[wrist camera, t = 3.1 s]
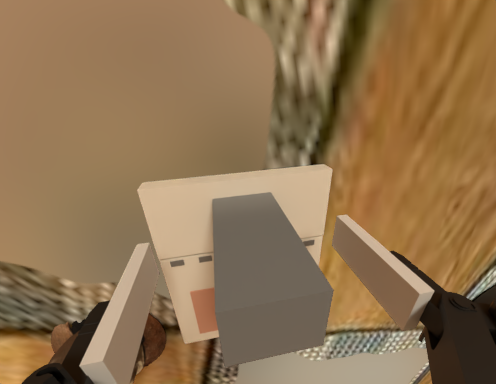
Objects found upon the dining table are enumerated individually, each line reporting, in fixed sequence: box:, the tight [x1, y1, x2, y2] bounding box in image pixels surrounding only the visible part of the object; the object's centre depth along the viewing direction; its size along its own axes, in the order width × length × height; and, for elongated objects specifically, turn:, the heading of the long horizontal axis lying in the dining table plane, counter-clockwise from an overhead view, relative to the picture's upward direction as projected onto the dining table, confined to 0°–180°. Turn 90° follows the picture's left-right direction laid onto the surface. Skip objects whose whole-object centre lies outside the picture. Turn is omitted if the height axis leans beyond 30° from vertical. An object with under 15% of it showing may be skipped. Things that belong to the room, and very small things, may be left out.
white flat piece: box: [160, 235, 323, 344], centre depth 23 cm, size 13×16×2 cm
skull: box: [48, 314, 166, 384], centre depth 23 cm, size 12×10×10 cm
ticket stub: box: [137, 164, 334, 367], centre depth 14 cm, size 7×16×12 cm, turn 93°
